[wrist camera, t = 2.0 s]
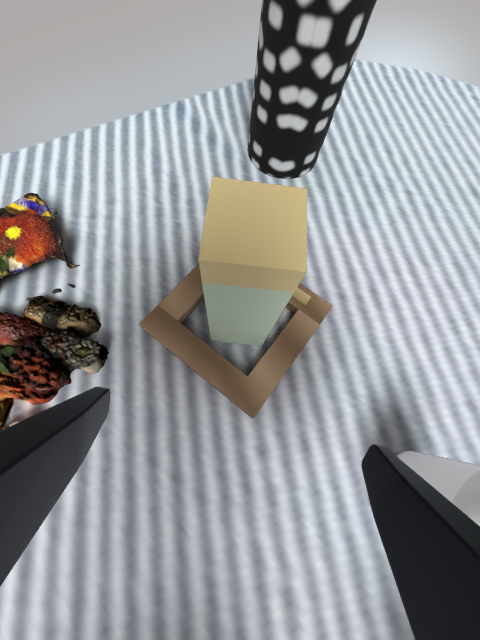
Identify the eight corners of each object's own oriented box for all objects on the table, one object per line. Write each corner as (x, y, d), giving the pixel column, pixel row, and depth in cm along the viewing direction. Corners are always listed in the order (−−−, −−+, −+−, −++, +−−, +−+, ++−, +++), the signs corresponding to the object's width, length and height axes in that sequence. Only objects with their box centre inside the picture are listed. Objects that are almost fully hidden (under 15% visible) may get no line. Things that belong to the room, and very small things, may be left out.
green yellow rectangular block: (261, 345, 23) (306, 271, 11) (211, 340, 23) (198, 259, 11) (264, 299, 25) (306, 188, 12) (217, 294, 24) (212, 176, 12)
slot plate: (251, 418, 21) (253, 418, 20) (143, 328, 23) (138, 323, 21) (327, 310, 25) (333, 305, 23) (228, 241, 26) (228, 232, 25)
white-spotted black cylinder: (330, 161, 31) (496, -223, 12) (276, 189, 29) (377, -217, 10) (287, 119, 33) (373, -267, 14) (233, 143, 31) (251, -270, 12)
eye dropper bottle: (354, 469, 20) (521, 544, 9) (414, 444, 21) (636, 483, 10) (380, 534, 19) (615, 717, 8) (443, 505, 20) (739, 630, 8)
